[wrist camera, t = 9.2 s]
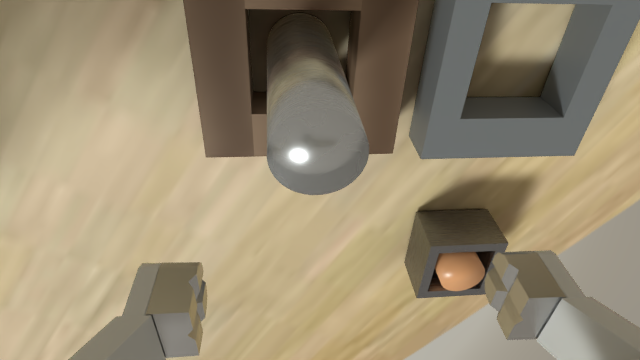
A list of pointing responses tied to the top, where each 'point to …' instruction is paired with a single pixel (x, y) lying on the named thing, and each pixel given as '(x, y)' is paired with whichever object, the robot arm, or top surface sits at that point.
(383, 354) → the top surface
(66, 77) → the top surface
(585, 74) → the block
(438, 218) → the dark grey open box
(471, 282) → the brown egg
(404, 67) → the socket block
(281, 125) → the grey metal cylinder
